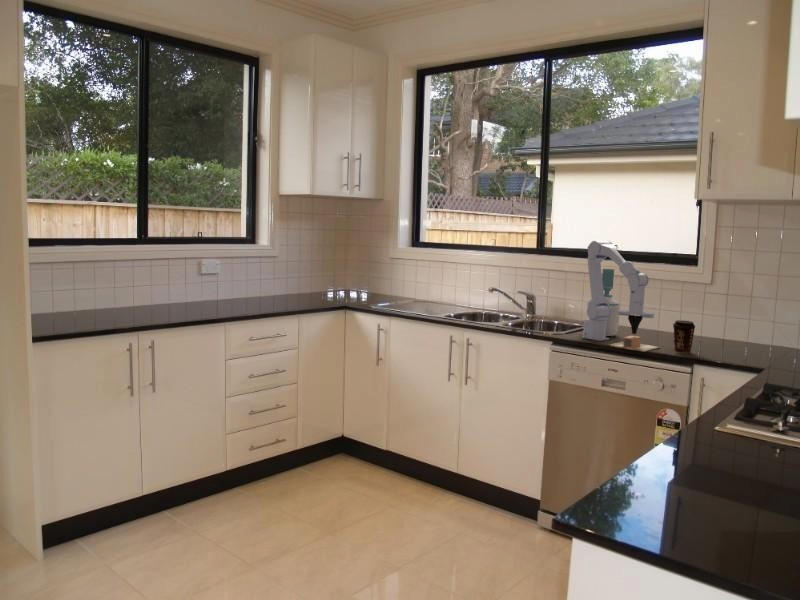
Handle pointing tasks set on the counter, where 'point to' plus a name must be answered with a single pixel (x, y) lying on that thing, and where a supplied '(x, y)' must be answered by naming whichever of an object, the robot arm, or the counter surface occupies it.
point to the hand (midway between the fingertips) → (634, 333)
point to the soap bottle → (610, 302)
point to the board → (640, 348)
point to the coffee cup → (683, 336)
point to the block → (631, 341)
